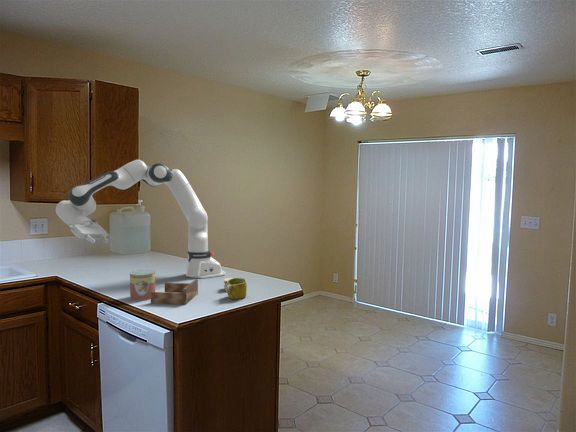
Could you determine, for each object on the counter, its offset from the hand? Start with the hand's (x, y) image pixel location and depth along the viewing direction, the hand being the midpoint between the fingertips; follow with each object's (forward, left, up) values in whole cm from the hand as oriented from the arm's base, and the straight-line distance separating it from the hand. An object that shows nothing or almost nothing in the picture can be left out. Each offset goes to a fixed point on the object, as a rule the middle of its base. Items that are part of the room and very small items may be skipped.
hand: (100, 242), depth 211 cm
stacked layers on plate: (-58, +21, -25) cm, 67 cm away
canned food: (-17, +19, -25) cm, 36 cm away
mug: (-56, +38, -25) cm, 72 cm away
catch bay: (-30, +27, -24) cm, 47 cm away
